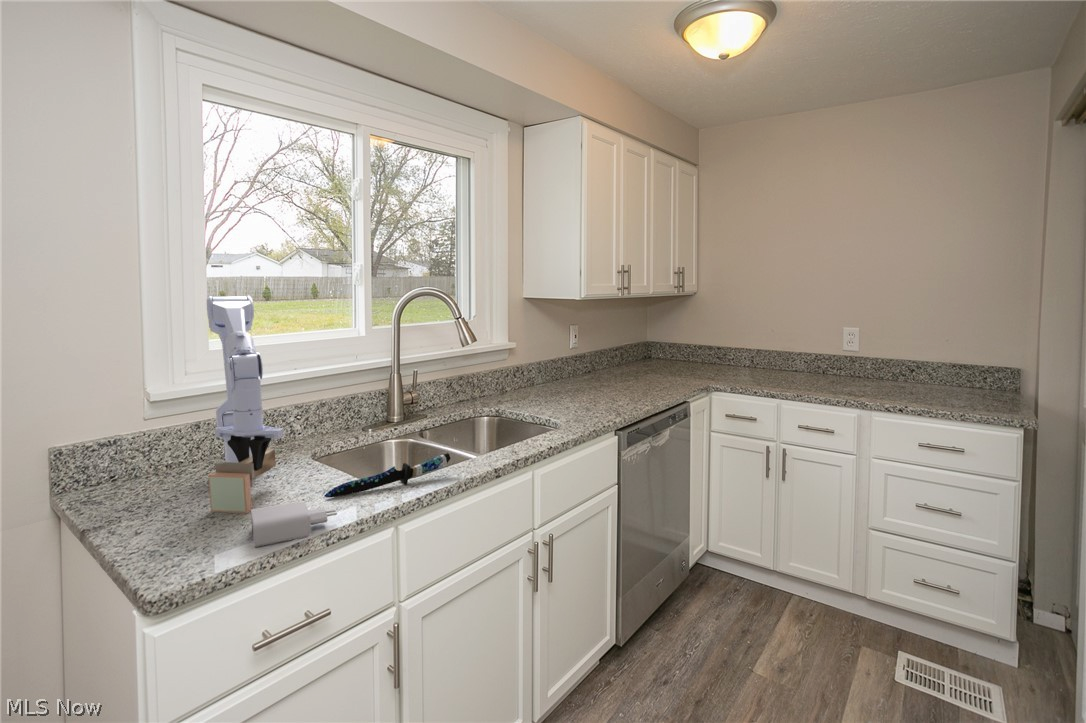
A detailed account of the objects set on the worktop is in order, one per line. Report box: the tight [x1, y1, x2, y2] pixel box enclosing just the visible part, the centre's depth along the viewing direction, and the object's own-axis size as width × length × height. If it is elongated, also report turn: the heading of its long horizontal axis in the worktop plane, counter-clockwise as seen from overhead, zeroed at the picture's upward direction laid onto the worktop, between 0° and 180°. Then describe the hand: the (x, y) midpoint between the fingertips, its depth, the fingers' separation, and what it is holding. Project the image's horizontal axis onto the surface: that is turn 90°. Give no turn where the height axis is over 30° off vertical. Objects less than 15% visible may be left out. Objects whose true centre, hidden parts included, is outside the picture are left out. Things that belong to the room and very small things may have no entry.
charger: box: [250, 501, 338, 548], centre depth 112 cm, size 5×9×15 cm
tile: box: [207, 471, 253, 514], centre depth 122 cm, size 2×8×8 cm, turn 85°
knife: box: [324, 453, 451, 499], centre depth 137 cm, size 31×3×4 cm, turn 120°
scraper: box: [214, 448, 277, 488], centre depth 129 cm, size 14×8×5 cm, turn 175°
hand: (251, 469), depth 129 cm, fingers closed on scraper, 2 cm apart
